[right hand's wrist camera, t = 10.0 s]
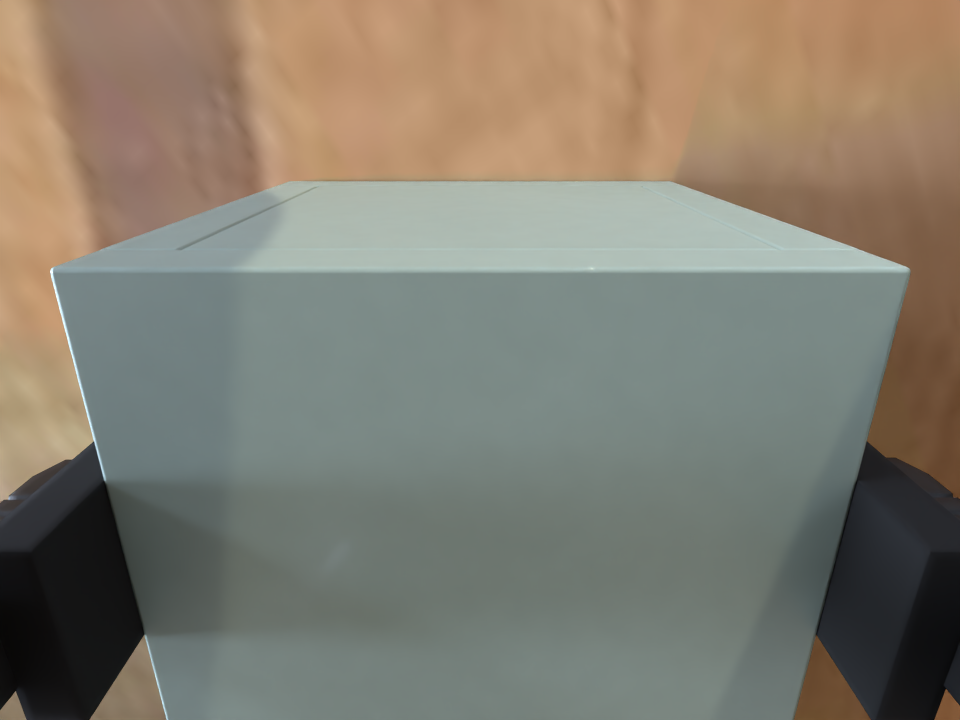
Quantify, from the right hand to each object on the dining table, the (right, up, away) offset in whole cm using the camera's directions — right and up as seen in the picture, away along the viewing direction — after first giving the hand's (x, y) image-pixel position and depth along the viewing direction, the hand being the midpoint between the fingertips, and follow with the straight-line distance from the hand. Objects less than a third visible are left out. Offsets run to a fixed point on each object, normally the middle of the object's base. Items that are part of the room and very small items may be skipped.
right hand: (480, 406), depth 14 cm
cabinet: (0, -4, +7) cm, 8 cm away
